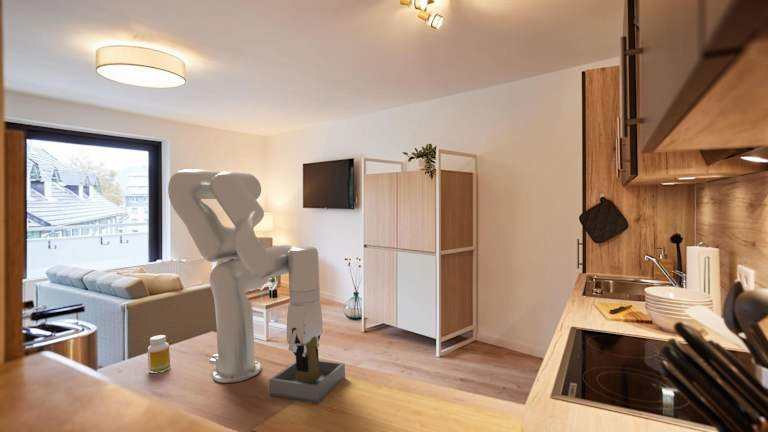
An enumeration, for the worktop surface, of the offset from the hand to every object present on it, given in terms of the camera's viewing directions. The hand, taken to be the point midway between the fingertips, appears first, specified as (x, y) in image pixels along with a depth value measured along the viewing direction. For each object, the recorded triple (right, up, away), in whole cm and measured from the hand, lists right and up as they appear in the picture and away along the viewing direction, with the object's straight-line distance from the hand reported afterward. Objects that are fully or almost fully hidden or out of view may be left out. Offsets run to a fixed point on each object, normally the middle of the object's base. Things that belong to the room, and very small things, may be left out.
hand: (307, 366), depth 96 cm
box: (0, -5, 0) cm, 5 cm away
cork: (0, -3, 0) cm, 3 cm away
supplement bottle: (-46, -7, +14) cm, 48 cm away
